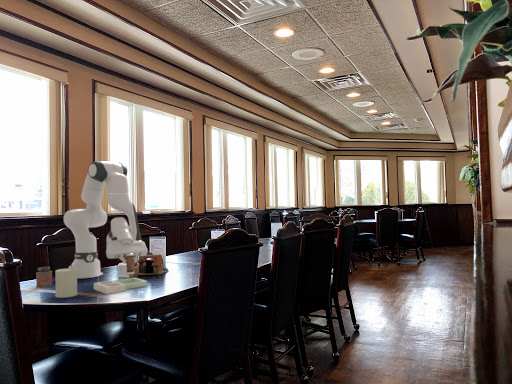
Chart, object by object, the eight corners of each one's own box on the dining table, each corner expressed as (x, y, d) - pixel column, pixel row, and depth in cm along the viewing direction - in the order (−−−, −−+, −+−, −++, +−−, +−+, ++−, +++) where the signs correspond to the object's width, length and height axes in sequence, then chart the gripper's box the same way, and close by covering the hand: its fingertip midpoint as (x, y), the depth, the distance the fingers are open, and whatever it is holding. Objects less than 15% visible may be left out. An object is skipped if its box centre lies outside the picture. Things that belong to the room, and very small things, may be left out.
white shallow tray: (93, 289, 203) (93, 282, 203) (111, 286, 208) (111, 280, 209) (106, 294, 190) (106, 287, 191) (125, 291, 196) (125, 284, 196)
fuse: (124, 273, 209) (124, 253, 209) (132, 272, 212) (132, 253, 212) (128, 274, 206) (127, 254, 206) (135, 273, 209) (135, 253, 209)
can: (76, 296, 186) (76, 269, 186) (53, 298, 183) (53, 270, 184) (78, 292, 195) (78, 266, 195) (57, 294, 192) (56, 268, 193)
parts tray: (112, 285, 211) (112, 280, 211) (134, 282, 218) (134, 277, 219) (123, 289, 200) (123, 284, 200) (147, 286, 208) (147, 280, 208)
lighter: (50, 285, 216) (50, 265, 217) (53, 285, 214) (53, 266, 215) (34, 287, 210) (34, 267, 210) (38, 288, 208) (38, 268, 208)
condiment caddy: (175, 269, 263) (175, 251, 263) (174, 277, 235) (173, 256, 236) (129, 271, 259) (129, 252, 259) (122, 279, 231) (122, 258, 231)
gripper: (142, 244, 225) (149, 264, 216) (103, 247, 213) (108, 268, 205) (145, 236, 221) (152, 256, 213) (105, 238, 210) (111, 260, 201)
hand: (130, 262), depth 209 cm, fingers closed on fuse, 4 cm apart
